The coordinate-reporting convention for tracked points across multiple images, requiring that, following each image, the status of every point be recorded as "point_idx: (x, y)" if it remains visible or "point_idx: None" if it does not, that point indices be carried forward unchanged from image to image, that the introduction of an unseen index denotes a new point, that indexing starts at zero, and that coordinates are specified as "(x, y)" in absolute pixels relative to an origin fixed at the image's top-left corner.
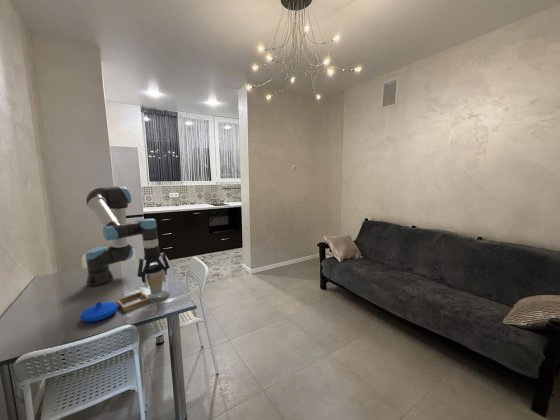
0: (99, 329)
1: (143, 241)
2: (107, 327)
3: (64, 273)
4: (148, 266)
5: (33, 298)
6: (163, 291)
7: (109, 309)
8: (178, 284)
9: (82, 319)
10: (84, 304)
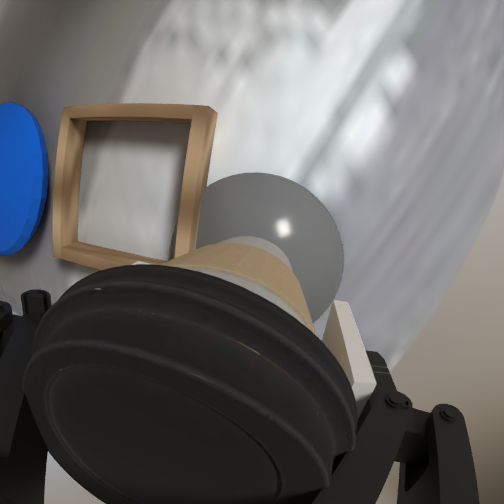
0: (4, 284)
1: None
2: (18, 299)
3: None
4: (37, 486)
5: None
6: (332, 234)
7: (4, 235)
8: (468, 214)
9: None
10: (42, 3)
